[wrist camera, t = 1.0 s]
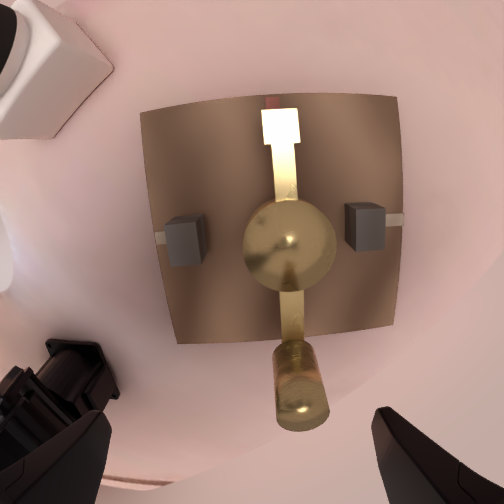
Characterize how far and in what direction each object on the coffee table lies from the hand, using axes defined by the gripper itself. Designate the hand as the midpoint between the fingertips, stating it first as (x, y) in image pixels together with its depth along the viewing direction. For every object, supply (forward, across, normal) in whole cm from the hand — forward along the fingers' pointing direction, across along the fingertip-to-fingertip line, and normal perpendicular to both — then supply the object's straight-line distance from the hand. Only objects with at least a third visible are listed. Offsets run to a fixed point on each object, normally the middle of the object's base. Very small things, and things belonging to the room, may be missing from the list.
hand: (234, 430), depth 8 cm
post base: (+13, -2, -4) cm, 14 cm away
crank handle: (+9, -2, -3) cm, 10 cm away
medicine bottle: (+13, +13, -16) cm, 24 cm away
